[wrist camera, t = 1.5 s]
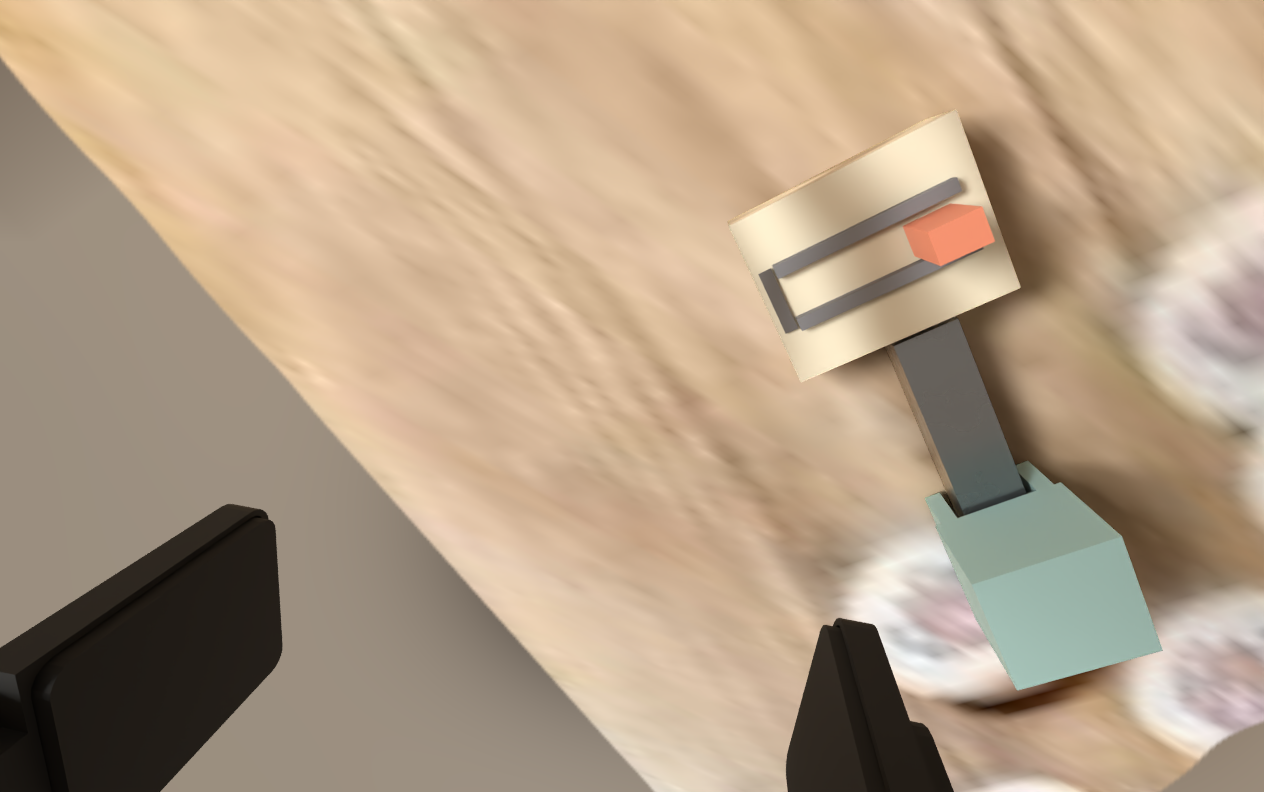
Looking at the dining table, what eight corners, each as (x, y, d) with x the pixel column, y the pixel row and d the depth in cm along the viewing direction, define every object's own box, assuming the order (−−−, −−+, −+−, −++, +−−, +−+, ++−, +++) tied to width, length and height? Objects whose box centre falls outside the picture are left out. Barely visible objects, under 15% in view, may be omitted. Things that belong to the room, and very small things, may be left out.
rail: (957, 297, 32) (989, 313, 28) (1064, 574, 36) (1105, 620, 32) (859, 340, 33) (877, 361, 29) (973, 602, 37) (1001, 650, 33)
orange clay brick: (950, 203, 27) (982, 206, 23) (961, 234, 27) (995, 241, 24) (902, 225, 27) (927, 232, 24) (914, 256, 27) (940, 266, 24)
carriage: (1033, 458, 33) (1122, 536, 26) (1069, 551, 35) (1162, 650, 27) (919, 499, 35) (971, 584, 27) (957, 587, 36) (1017, 690, 29)
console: (926, 118, 29) (961, 107, 25) (985, 275, 31) (1027, 290, 27) (727, 221, 32) (728, 227, 28) (792, 360, 34) (802, 386, 30)
